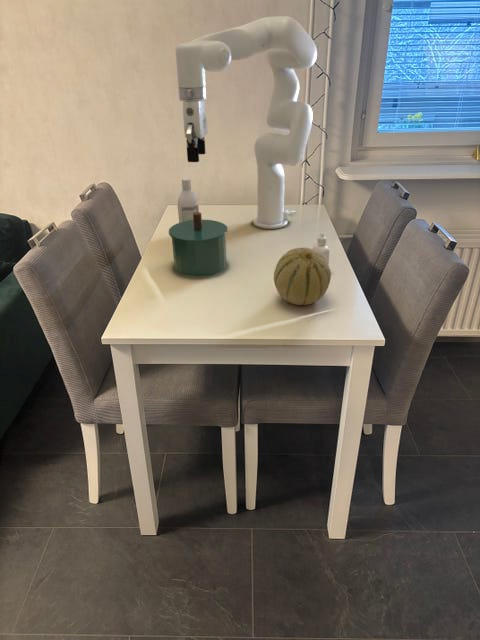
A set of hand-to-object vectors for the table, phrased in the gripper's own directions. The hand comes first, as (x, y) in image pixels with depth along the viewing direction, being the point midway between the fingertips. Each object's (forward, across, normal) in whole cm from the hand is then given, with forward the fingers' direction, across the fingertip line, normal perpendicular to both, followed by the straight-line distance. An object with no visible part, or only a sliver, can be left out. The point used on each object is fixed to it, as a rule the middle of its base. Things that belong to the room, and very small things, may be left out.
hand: (196, 157), depth 146 cm
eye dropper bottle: (+30, -11, -37) cm, 49 cm away
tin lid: (+18, -11, -1) cm, 21 cm away
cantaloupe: (+30, -30, -32) cm, 53 cm away
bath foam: (+30, +14, +7) cm, 34 cm away
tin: (+30, -11, -1) cm, 32 cm away
